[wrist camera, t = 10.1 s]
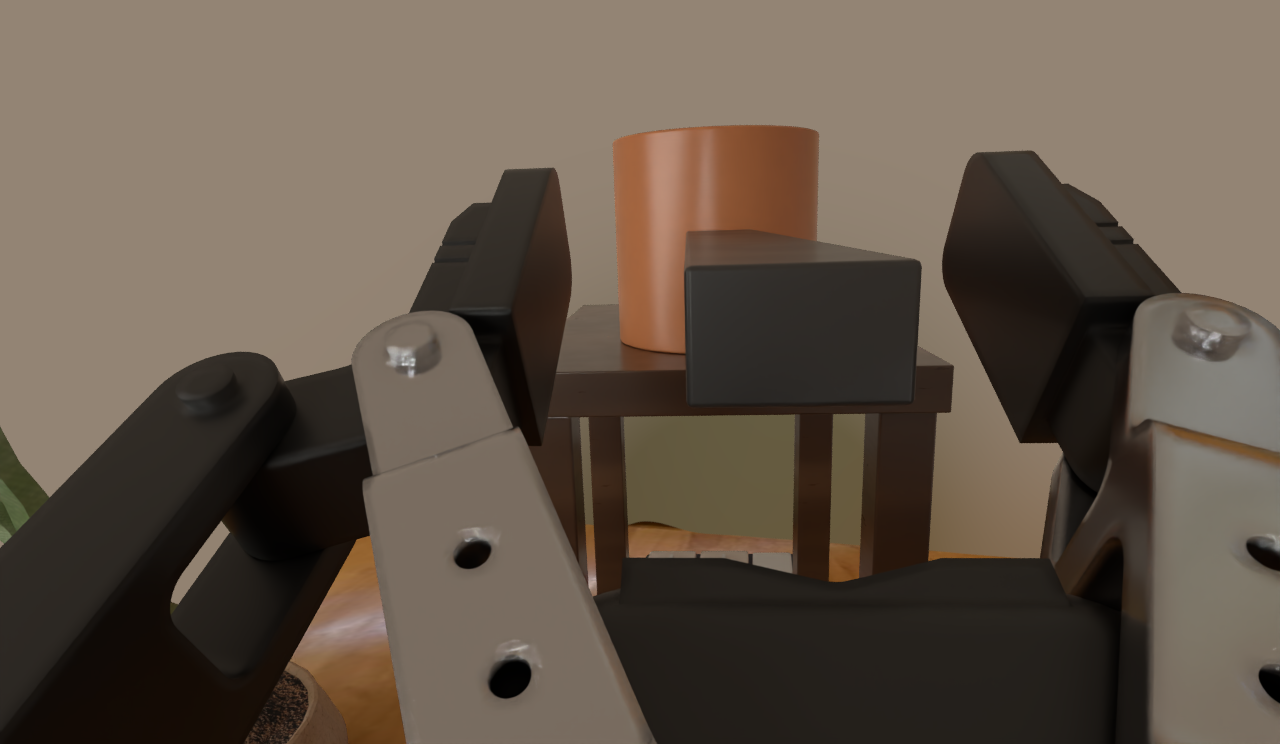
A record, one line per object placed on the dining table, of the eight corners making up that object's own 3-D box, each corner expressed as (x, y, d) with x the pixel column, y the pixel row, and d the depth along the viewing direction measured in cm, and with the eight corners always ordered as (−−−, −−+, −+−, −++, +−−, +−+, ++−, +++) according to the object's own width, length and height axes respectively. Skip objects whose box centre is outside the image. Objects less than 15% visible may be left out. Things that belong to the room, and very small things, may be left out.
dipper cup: (1174, 669, 7) (1298, -181, 6) (443, 660, 8) (364, -117, 6) (798, 321, 31) (801, 143, 30) (628, 324, 32) (622, 150, 30)
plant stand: (904, 1148, 28) (954, 365, 21) (557, 1128, 29) (501, 372, 22) (820, 791, 46) (834, 299, 39) (606, 785, 47) (583, 305, 40)
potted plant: (187, 724, 54) (112, 337, 47) (403, 750, 50) (354, 337, 44) (-209, 1067, 32) (-445, 440, 26) (124, 1152, 29) (-53, 454, 22)
